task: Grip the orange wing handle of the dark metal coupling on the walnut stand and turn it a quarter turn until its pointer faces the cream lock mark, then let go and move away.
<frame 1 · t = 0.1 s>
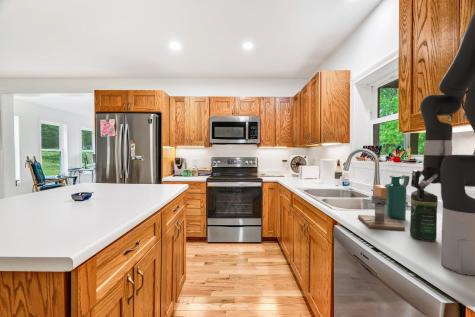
hand: (435, 200, 84), 17 cm above the worktop, tool pointing down, fingers open, 8 cm apart
square teal bottle: (395, 217, 128), on the worktop
stand: (379, 223, 116), on the worktop
coffee jar: (422, 238, 97), on the worktop
coupling: (379, 194, 116), point 14 cm above the worktop, hinge at 0.0°
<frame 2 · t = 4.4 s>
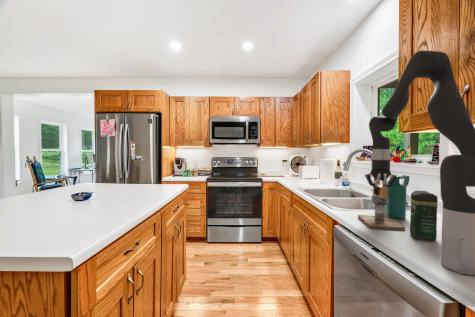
hand: (380, 195, 116), 14 cm above the worktop, tool pointing down, fingers closed on coupling, 2 cm apart
coupling: (379, 194, 116), point 14 cm above the worktop, hinge at 0.0°, touching gripper
everything else where it was.
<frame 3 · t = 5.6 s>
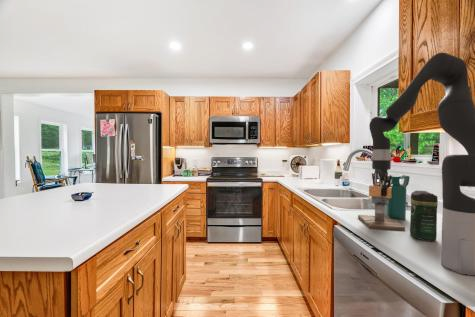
hand: (380, 195, 115), 14 cm above the worktop, tool pointing down, fingers closed on coupling, 4 cm apart
coupling: (379, 194, 116), point 14 cm above the worktop, hinge at 63.6°, touching gripper
everything else where it was.
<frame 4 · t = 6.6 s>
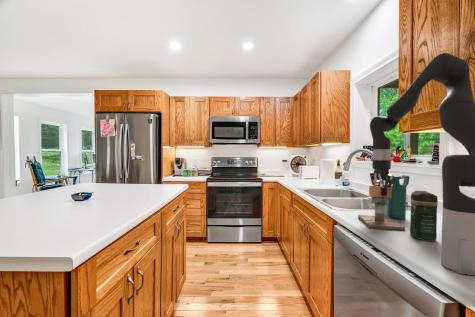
hand: (380, 195, 116), 14 cm above the worktop, tool pointing down, fingers closed on coupling, 3 cm apart
coupling: (379, 194, 116), point 14 cm above the worktop, hinge at 83.4°, touching gripper
everything else where it was.
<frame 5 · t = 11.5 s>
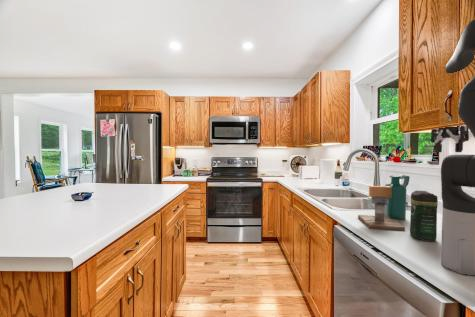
hand: (448, 152, 103), 34 cm above the worktop, tool pointing down, fingers open, 8 cm apart
coupling: (379, 194, 116), point 14 cm above the worktop, hinge at 85.7°
everything else where it was.
at the end: coupling at +86° (first picture: +0°); the gripper is holding nothing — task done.
